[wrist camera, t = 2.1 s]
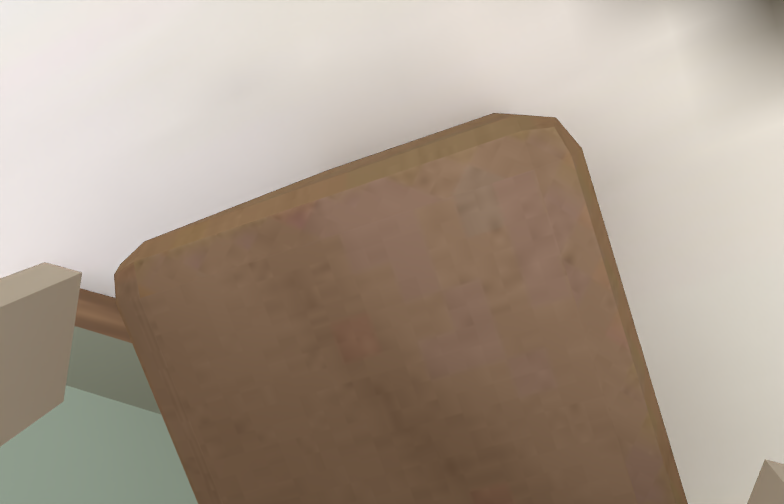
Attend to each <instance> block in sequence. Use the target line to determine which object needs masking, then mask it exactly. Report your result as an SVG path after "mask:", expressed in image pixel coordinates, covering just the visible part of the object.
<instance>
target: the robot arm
mask: <svg viewBox="0 0 784 504" xmlns="http://www.w3.org/2000/svg"><path fill="white" fill-rule="evenodd" d="M81 276H82V272H78V271H75V270H71V269H67V268H64V267H60V266H56V265H53V264H49V263H45V262H44V263H42V264H39V265H36V266H34V267H31V268H28V269H25V270H23V271H20V272H17V273H14V274H12V275H9V276H6V277H3V278H1V279H0V447H1V446H2V445H3V444H5V443H6V442H8V441H9V440H10V439H12V438H13V437H15V436H16V435H17V434H19V433H20V432H22V431H23V430H24V429H26V428H27V427H28V426H30V425H31V424H33V423H34V422H35V421H37V420H38V419H40V418H41V417H42V416H44V415H45V414H47V413H48V412H49V411H51V410H52V409H54V408H55V407H56V406H58V405H59V404H61V403H62V402H63V401H64V394H65V387H66V380H67V373H68V366H69V359H70V352H71V345H72V339H73V332H74V325H75V318H76V311H77V304H78V297H79V290H80V283H81ZM747 504H784V464H780V463H776V462H773V461H769V460H766V459H765V461H764V463H763V466H762V468H761V471H760V473H759V476H758V478H757V481H756V483H755V486H754V488H753V491H752V493H751V496H750V498H749V501H748V503H747Z"/></svg>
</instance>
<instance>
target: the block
mask: <svg viewBox="0 0 784 504" xmlns="http://www.w3.org/2000/svg"><path fill="white" fill-rule="evenodd" d="M114 280H115V294H116V305H117V308H118V310H119V313H120V315H121V317H122V320H123V322H124V325H125V327H126V330H127V332H128V334H129V337H130V339H131V342H132V344H133V347H134V349H135V352H136V354H137V356H138V359H139V361H140V364H141V366H142V369H143V371H144V373H145V376H146V378H147V381H148V383H149V386H150V388H151V390H152V393H153V395H154V398H155V400H156V403H157V405H158V408H159V410H160V412H161V415H162V417H163V420H164V422H165V425H166V427H167V429H168V432H169V434H170V437H171V439H172V442H173V444H174V447H175V449H176V451H177V454H178V456H179V459H180V461H181V464H182V466H183V468H184V471H185V473H186V476H187V478H188V481H189V483H190V485H191V488H192V490H193V493H194V495H195V498H196V500H197V503H198V504H688V503H687V500H686V497H685V493H684V490H683V487H682V483H681V480H680V476H679V473H678V470H677V466H676V463H675V460H674V456H673V453H672V450H671V446H670V443H669V440H668V436H667V433H666V429H665V426H664V423H663V419H662V416H661V413H660V409H659V406H658V403H657V399H656V396H655V393H654V389H653V386H652V382H651V379H650V376H649V372H648V369H647V366H646V362H645V359H644V356H643V352H642V349H641V345H640V342H639V339H638V335H637V332H636V329H635V325H634V322H633V319H632V315H631V312H630V309H629V305H628V302H627V298H626V295H625V292H624V288H623V285H622V282H621V278H620V275H619V272H618V268H617V265H616V261H615V258H614V255H613V251H612V248H611V245H610V241H609V238H608V235H607V231H606V228H605V225H604V221H603V218H602V214H601V211H600V208H599V204H598V201H597V198H596V194H595V191H594V188H593V184H592V181H591V178H590V174H589V171H588V167H587V164H586V161H585V157H584V154H583V151H582V148H581V147H580V146H579V144H578V143H577V142H576V141H575V140H574V138H573V137H572V136H571V135H570V134H569V133H568V131H567V130H566V129H565V128H564V127H563V125H562V124H561V123H560V122H559V121H558V119H557V118H555V117H542V116H528V115H514V114H499V113H493V114H490V115H487V116H484V117H481V118H478V119H476V120H473V121H470V122H467V123H464V124H461V125H458V126H455V127H452V128H449V129H446V130H444V131H441V132H438V133H435V134H432V135H429V136H426V137H423V138H420V139H417V140H414V141H412V142H409V143H406V144H403V145H400V146H397V147H394V148H391V149H388V150H385V151H382V152H380V153H377V154H374V155H371V156H368V157H365V158H362V159H359V160H356V161H353V162H351V163H348V164H345V165H342V166H339V167H336V168H333V169H330V170H327V171H324V172H322V173H319V174H317V175H314V176H312V177H309V178H306V179H304V180H301V181H299V182H296V183H294V184H291V185H288V186H286V187H283V188H281V189H278V190H276V191H273V192H270V193H268V194H265V195H263V196H260V197H258V198H255V199H253V200H250V201H247V202H245V203H242V204H240V205H237V206H235V207H232V208H229V209H227V210H224V211H222V212H219V213H217V214H214V215H211V216H209V217H206V218H204V219H201V220H199V221H196V222H194V223H191V224H188V225H186V226H183V227H181V228H178V229H176V230H173V231H170V232H168V233H165V234H163V235H160V236H158V237H155V238H152V239H150V240H147V241H145V242H143V243H142V244H141V245H140V246H139V247H138V248H137V249H136V250H135V251H134V252H133V253H132V254H131V255H130V256H129V257H128V258H127V259H126V260H124V261H123V262H122V263H121V264H120V266H119V267H118V269H117V271H116V272H115V274H114Z"/></svg>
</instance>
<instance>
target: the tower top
mask: <svg viewBox="0 0 784 504" xmlns="http://www.w3.org/2000/svg"><path fill="white" fill-rule="evenodd" d="M0 504H198V503H197V500H196V498H195V495H194V493H193V490H192V488H191V485H190V483H189V481H188V478H187V476H186V473H185V471H184V468H183V466H182V464H181V461H180V459H179V456H178V454H177V451H176V449H175V447H174V444H173V442H172V439H171V437H170V434H169V432H168V429H167V427H166V425H165V422H164V420H163V417H162V415H161V412H160V410H159V408H158V405H157V403H156V400H155V398H154V395H153V393H152V390H151V388H150V386H149V383H148V381H147V378H146V376H145V373H144V371H143V369H142V366H141V364H140V361H139V359H138V356H137V354H136V352H135V349H134V347H133V344H132V343H129V342H126V341H123V340H119V339H116V338H113V337H109V336H106V335H103V334H100V333H96V332H93V331H90V330H86V329H83V328H80V327H76V326H74V332H73V339H72V345H71V352H70V359H69V366H68V373H67V380H66V387H65V394H64V401H63V402H62V403H61V404H59V405H58V406H56V407H55V408H54V409H52V410H51V411H49V412H48V413H47V414H45V415H44V416H42V417H41V418H40V419H38V420H37V421H35V422H34V423H33V424H31V425H30V426H28V427H27V428H26V429H24V430H23V431H22V432H20V433H19V434H17V435H16V436H15V437H13V438H12V439H10V440H9V441H8V442H6V443H5V444H3V445H2V446H1V447H0Z"/></svg>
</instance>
